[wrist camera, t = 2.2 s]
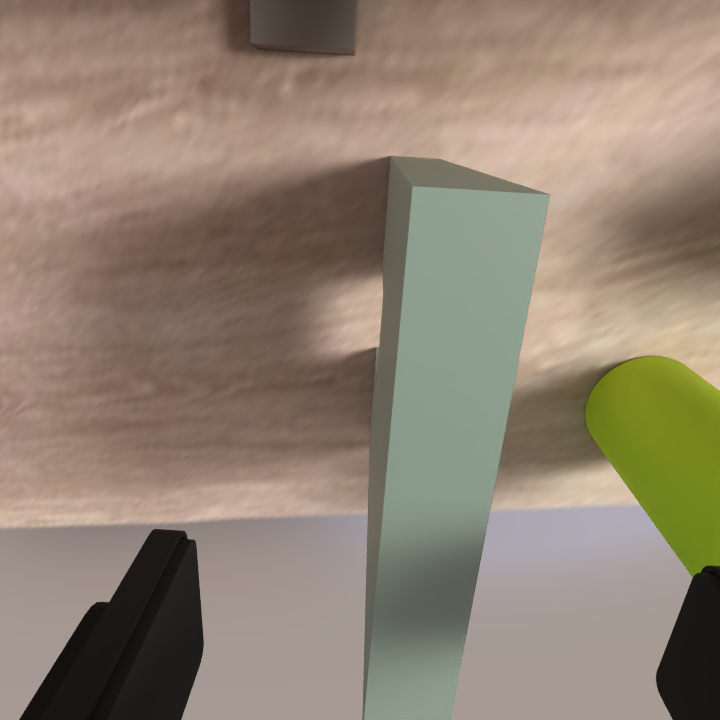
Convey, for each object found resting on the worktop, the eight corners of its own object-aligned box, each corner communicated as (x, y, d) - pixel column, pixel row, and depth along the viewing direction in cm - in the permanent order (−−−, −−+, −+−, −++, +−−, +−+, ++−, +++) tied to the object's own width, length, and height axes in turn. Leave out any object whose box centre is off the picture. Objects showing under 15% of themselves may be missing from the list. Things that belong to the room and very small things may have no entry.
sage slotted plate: (370, 430, 29) (361, 741, 14) (390, 156, 23) (413, 186, 8) (410, 433, 29) (445, 747, 14) (440, 159, 23) (550, 194, 8)
